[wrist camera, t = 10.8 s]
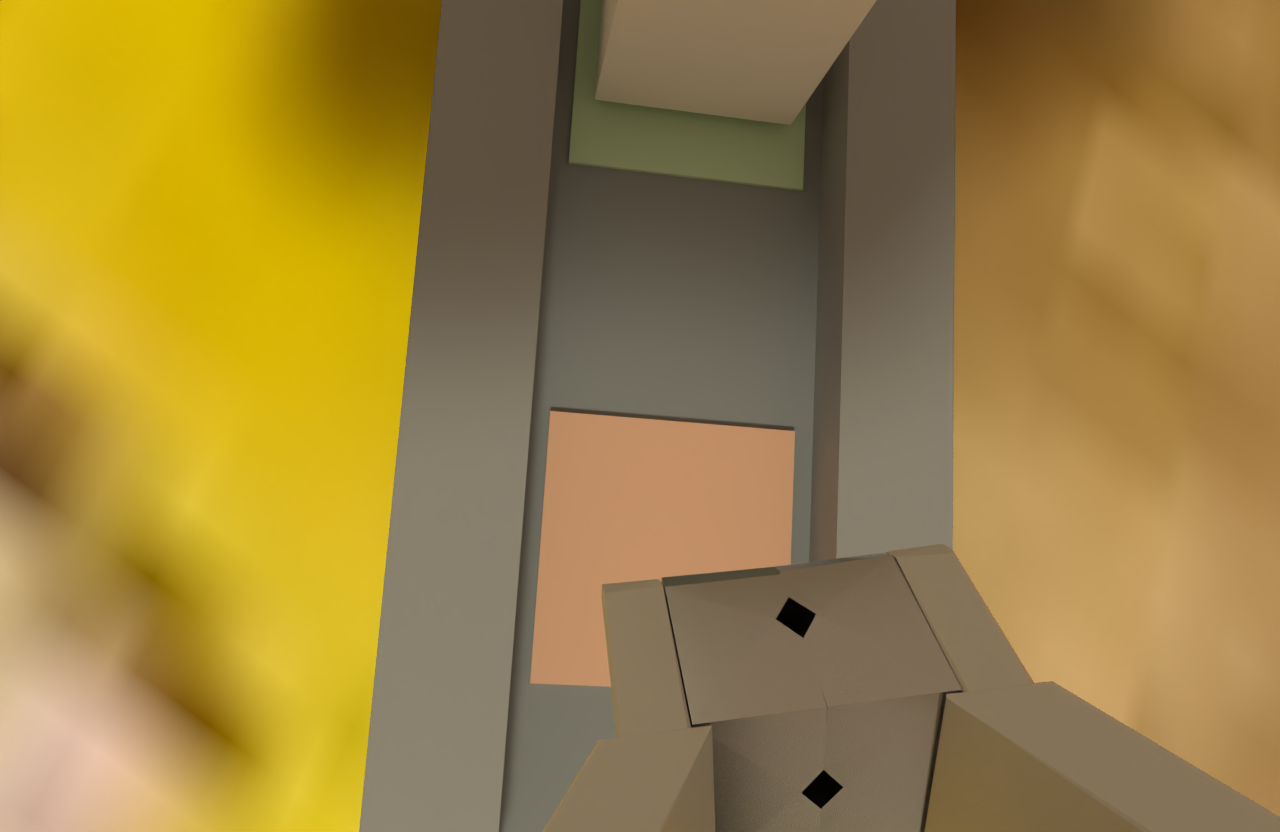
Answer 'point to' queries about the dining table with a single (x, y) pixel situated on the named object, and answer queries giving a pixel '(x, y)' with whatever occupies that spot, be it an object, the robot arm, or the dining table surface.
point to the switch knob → (722, 53)
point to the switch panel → (644, 377)
